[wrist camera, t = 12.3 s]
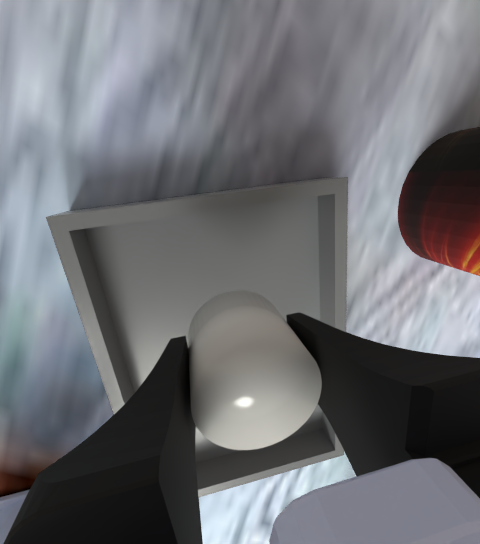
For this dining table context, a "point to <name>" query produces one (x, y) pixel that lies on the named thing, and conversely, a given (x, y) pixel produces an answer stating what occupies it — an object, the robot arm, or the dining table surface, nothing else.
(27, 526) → the robot arm
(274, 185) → the tray
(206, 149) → the dining table surface
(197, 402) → the stone
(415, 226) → the mug
